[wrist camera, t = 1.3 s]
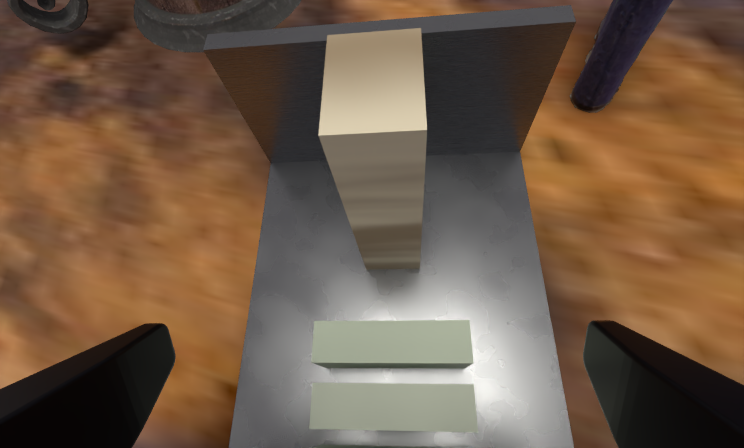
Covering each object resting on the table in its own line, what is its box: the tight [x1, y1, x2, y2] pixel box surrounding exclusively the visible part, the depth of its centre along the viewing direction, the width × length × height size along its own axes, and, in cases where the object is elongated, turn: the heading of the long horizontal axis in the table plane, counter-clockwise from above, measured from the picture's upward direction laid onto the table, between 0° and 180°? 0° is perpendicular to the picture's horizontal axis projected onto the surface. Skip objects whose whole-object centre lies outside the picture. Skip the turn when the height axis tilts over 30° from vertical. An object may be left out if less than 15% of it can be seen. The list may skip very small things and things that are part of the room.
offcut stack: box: [309, 320, 478, 448], centre depth 17 cm, size 7×7×3 cm
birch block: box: [318, 28, 427, 270], centre depth 17 cm, size 4×3×12 cm
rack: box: [203, 5, 576, 448], centre depth 17 cm, size 22×16×10 cm
